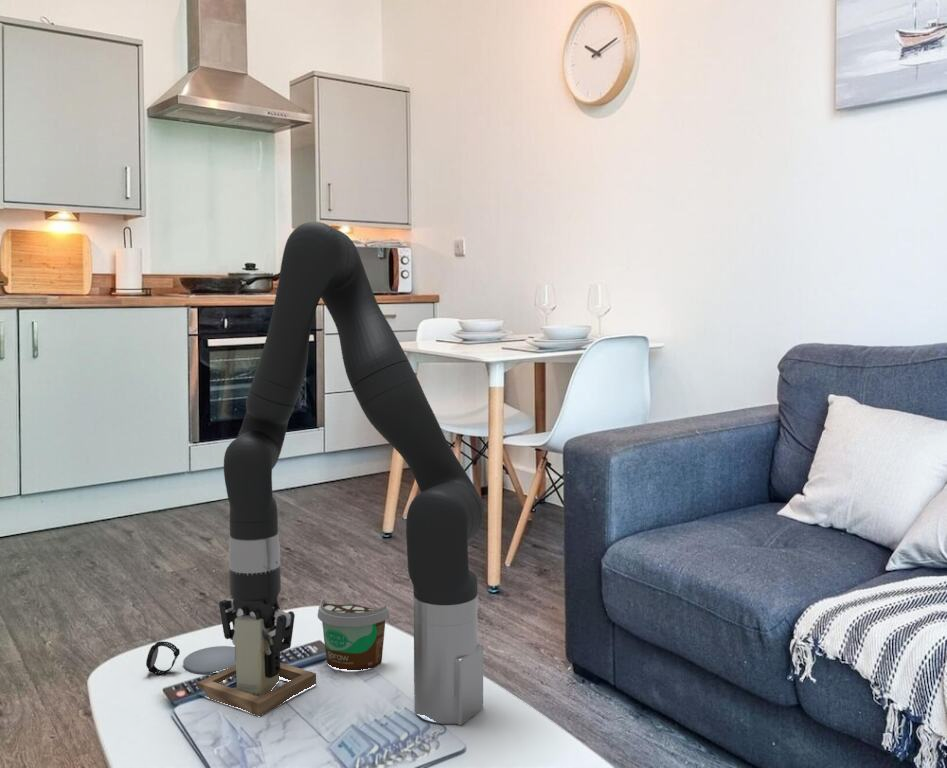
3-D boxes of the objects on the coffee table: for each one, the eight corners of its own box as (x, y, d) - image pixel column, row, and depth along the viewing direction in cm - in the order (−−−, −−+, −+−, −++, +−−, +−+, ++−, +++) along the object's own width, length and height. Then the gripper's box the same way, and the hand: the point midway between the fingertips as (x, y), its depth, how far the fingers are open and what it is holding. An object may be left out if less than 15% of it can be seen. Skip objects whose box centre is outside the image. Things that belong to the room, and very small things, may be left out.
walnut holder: (316, 685, 133) (316, 673, 133) (259, 716, 123) (258, 703, 123) (256, 667, 140) (256, 655, 140) (197, 695, 130) (197, 682, 130)
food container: (304, 669, 139) (303, 609, 138) (322, 655, 145) (321, 597, 144) (374, 679, 135) (374, 617, 134) (390, 664, 141) (389, 604, 140)
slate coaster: (259, 657, 144) (259, 654, 144) (212, 679, 135) (212, 675, 135) (217, 645, 149) (217, 641, 149) (170, 665, 141) (170, 661, 141)
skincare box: (262, 700, 128) (261, 621, 127) (235, 698, 129) (233, 619, 128) (280, 682, 134) (278, 607, 133) (253, 680, 135) (251, 605, 134)
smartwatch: (157, 667, 140) (156, 637, 140) (183, 671, 139) (182, 641, 138) (140, 677, 136) (138, 646, 136) (167, 681, 135) (165, 650, 134)
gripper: (307, 564, 129) (309, 673, 131) (240, 550, 137) (243, 653, 138) (271, 578, 123) (274, 692, 124) (202, 562, 130) (206, 670, 132)
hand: (257, 671), depth 131 cm, fingers closed on skincare box, 5 cm apart
